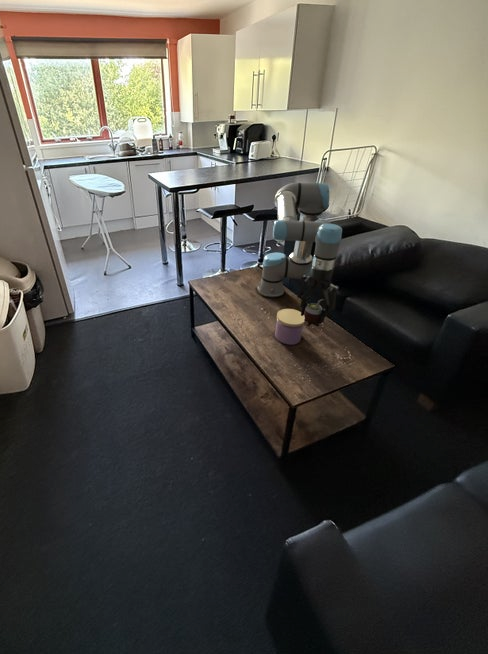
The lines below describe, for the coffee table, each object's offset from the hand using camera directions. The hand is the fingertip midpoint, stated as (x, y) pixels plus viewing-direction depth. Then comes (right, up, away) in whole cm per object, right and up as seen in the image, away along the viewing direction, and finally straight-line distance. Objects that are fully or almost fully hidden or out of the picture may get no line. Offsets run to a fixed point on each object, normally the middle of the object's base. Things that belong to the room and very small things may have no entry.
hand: (312, 318), depth 127 cm
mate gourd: (0, -3, +1) cm, 3 cm away
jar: (-2, -11, +24) cm, 26 cm away
